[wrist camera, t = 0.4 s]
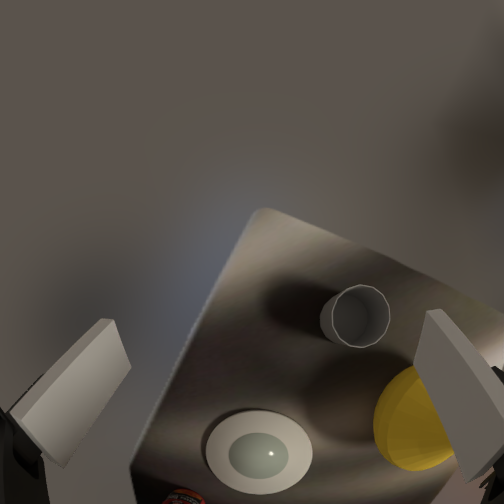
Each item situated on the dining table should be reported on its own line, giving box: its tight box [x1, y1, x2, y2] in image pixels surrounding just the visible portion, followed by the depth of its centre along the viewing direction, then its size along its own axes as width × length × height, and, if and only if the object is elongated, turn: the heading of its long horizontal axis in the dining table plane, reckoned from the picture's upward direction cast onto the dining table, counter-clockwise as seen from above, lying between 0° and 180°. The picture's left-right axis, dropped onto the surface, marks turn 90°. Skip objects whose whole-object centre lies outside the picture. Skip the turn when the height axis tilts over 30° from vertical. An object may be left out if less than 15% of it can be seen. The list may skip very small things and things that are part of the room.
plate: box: [206, 410, 312, 494], centre depth 37 cm, size 18×18×1 cm
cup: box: [320, 285, 390, 348], centre depth 38 cm, size 8×8×10 cm
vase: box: [373, 365, 455, 471], centre depth 23 cm, size 18×18×30 cm
